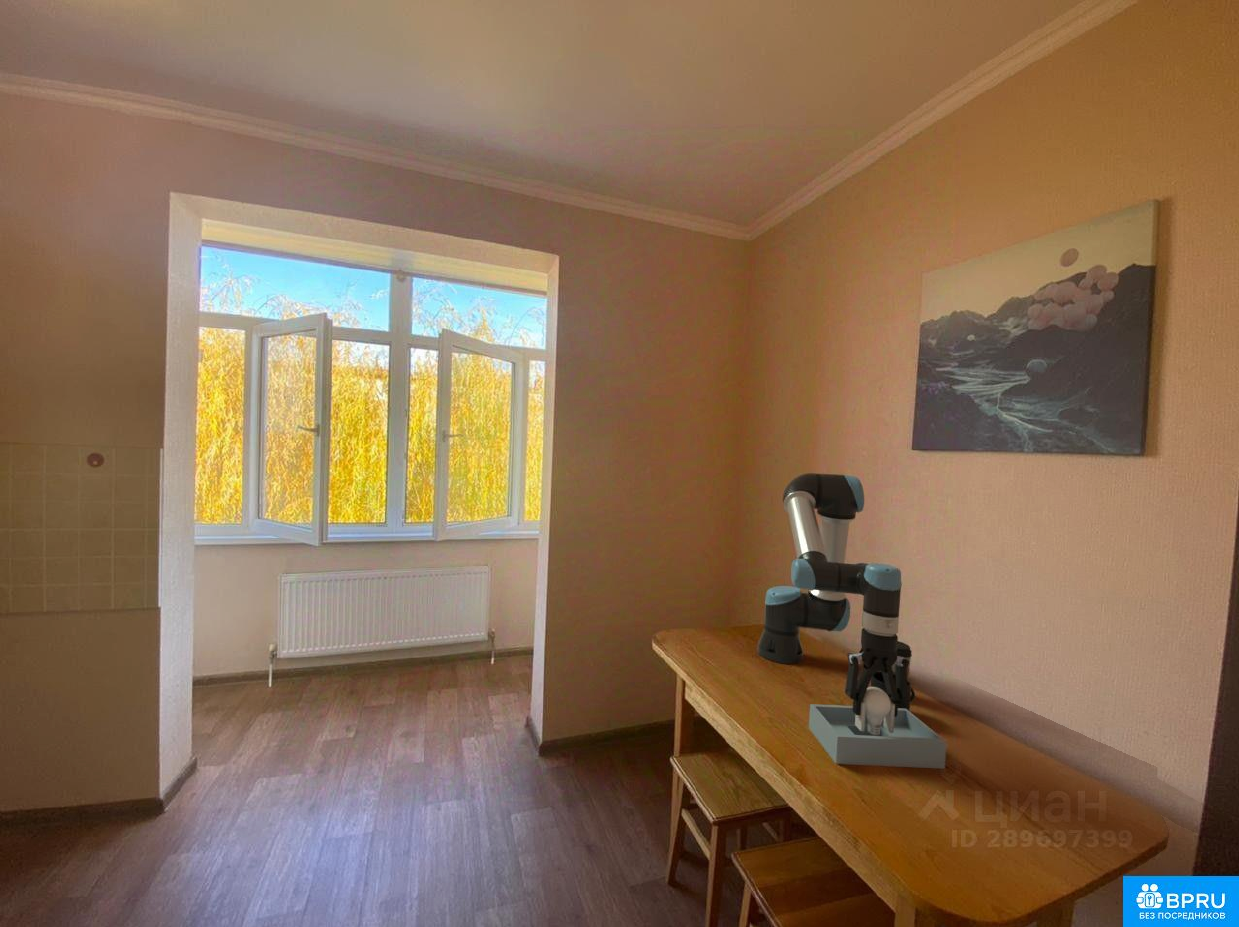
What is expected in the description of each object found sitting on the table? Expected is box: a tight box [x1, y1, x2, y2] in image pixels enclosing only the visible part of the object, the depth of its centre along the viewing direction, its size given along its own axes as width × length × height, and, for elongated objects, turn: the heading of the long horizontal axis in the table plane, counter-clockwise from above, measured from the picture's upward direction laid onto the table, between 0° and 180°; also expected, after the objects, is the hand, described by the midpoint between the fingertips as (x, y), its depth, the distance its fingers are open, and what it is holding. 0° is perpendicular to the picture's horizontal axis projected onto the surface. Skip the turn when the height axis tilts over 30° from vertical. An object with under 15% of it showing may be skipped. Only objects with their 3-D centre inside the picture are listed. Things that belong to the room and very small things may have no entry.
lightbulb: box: [863, 686, 891, 736], centre depth 111 cm, size 6×6×11 cm
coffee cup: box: [879, 640, 912, 681], centre depth 138 cm, size 8×8×15 cm
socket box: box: [808, 703, 947, 770], centre depth 111 cm, size 14×24×6 cm, turn 91°
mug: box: [870, 671, 916, 712], centre depth 128 cm, size 9×12×9 cm
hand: (873, 728), depth 111 cm, fingers closed on lightbulb, 6 cm apart
